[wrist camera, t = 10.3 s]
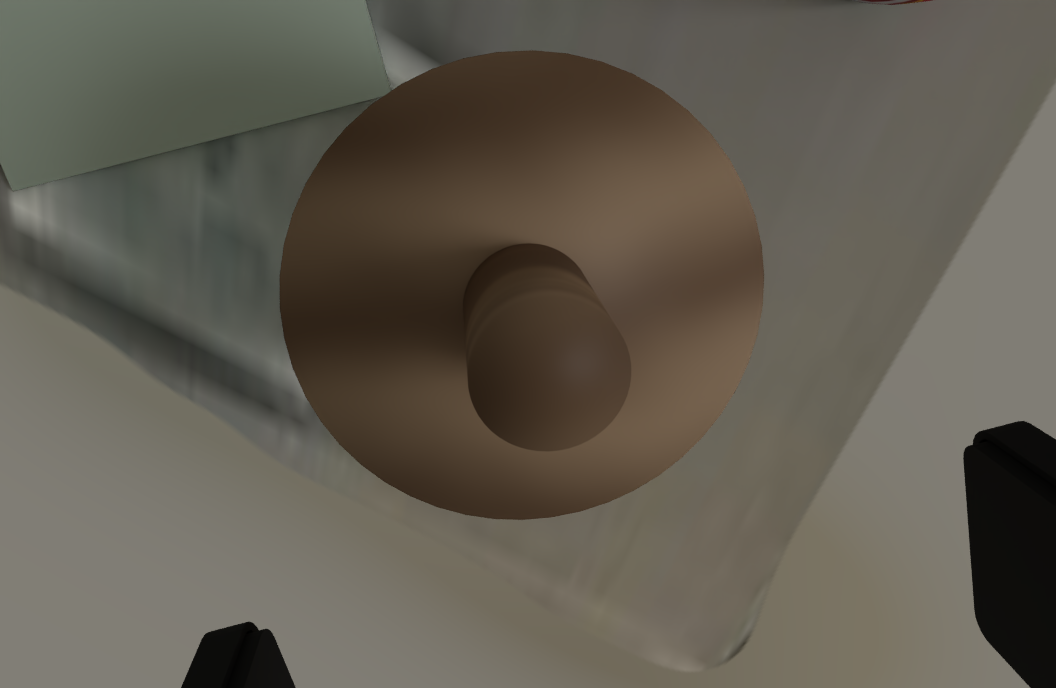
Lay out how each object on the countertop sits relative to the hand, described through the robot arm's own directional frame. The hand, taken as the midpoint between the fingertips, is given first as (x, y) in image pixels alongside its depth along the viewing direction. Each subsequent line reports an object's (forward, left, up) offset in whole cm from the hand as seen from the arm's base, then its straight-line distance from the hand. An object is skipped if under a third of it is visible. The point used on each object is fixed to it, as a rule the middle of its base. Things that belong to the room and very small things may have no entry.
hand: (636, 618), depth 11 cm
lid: (0, 0, -17) cm, 17 cm away
